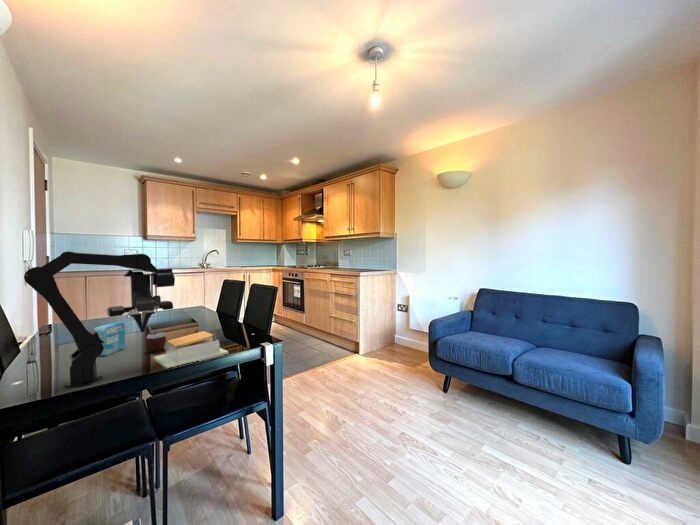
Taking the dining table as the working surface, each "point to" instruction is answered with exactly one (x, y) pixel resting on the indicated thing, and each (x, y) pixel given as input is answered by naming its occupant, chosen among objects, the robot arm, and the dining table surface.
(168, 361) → the board
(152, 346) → the mate gourd
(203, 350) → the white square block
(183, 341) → the thin wooden panel
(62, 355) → the dining table surface
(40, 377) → the dining table surface
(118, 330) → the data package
